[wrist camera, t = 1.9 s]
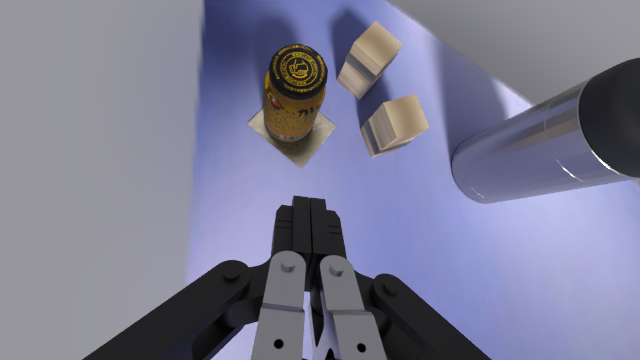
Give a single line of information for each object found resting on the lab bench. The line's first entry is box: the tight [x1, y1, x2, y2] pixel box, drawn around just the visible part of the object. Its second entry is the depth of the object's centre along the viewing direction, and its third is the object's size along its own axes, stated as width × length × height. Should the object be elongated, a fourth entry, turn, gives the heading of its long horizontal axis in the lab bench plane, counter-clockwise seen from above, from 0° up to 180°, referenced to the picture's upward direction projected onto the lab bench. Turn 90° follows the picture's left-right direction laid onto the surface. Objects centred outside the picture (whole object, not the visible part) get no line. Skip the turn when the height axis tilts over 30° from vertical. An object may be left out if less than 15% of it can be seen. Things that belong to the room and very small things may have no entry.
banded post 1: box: [337, 21, 403, 100], centre depth 37 cm, size 4×4×8 cm
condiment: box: [248, 44, 336, 168], centre depth 33 cm, size 7×8×12 cm
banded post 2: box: [360, 94, 430, 158], centre depth 36 cm, size 4×4×8 cm
